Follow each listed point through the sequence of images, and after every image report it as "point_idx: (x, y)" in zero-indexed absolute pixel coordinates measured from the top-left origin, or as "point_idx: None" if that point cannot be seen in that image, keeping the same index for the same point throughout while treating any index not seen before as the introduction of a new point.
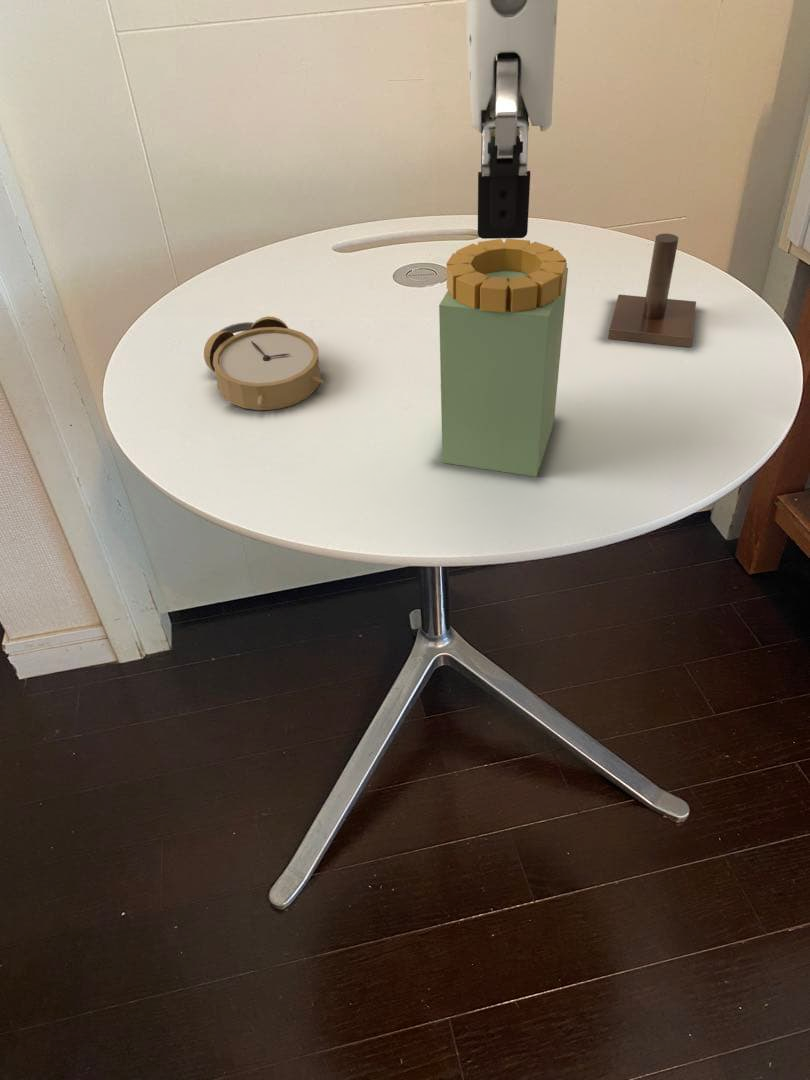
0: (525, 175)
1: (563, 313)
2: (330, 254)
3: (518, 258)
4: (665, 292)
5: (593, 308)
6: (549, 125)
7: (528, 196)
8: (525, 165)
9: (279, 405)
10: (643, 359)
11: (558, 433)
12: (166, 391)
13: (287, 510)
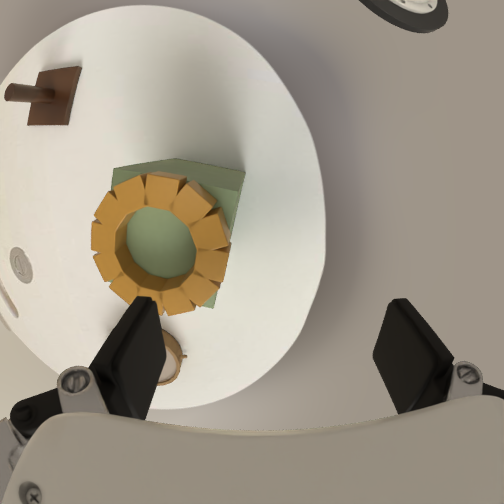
0: (468, 364)
1: (140, 164)
2: (21, 319)
3: (120, 231)
4: (41, 88)
5: (35, 141)
6: (495, 396)
7: (433, 333)
8: (481, 375)
9: (177, 344)
10: (93, 96)
11: (188, 154)
12: (172, 391)
13: (280, 326)
